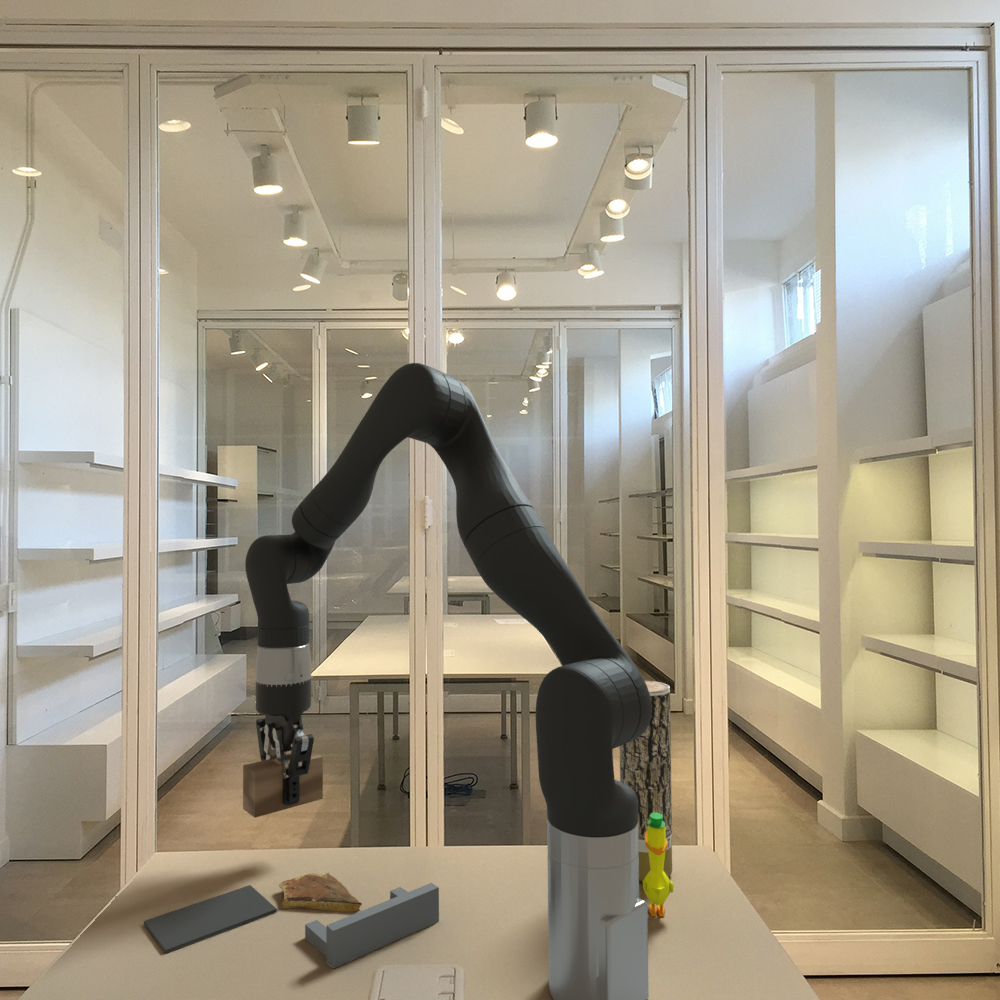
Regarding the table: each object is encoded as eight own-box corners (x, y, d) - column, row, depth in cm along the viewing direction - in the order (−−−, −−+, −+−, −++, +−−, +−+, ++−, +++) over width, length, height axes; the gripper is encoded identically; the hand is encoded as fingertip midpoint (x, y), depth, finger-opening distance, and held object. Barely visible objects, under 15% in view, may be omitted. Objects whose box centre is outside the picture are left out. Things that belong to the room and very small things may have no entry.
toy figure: (639, 896, 95) (638, 801, 95) (668, 897, 94) (666, 801, 95) (645, 926, 88) (644, 822, 88) (676, 927, 88) (674, 823, 88)
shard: (362, 916, 92) (362, 901, 92) (301, 936, 87) (301, 921, 87) (328, 881, 100) (327, 867, 100) (271, 898, 96) (271, 884, 96)
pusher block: (322, 798, 107) (322, 756, 107) (254, 817, 100) (254, 772, 101) (309, 791, 110) (309, 749, 110) (243, 808, 103) (243, 765, 104)
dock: (439, 921, 89) (438, 887, 89) (333, 968, 80) (333, 930, 80) (403, 897, 95) (403, 865, 95) (301, 939, 86) (300, 903, 86)
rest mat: (276, 912, 92) (276, 908, 92) (165, 953, 83) (165, 949, 83) (250, 888, 98) (250, 884, 98) (143, 924, 89) (143, 921, 89)
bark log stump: (614, 878, 100) (611, 688, 100) (630, 857, 106) (628, 678, 106) (664, 889, 96) (662, 694, 97) (678, 867, 102) (675, 683, 103)
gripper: (332, 680, 103) (332, 807, 102) (286, 665, 113) (286, 779, 113) (280, 689, 98) (280, 822, 97) (237, 672, 108) (237, 791, 108)
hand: (283, 798), depth 105 cm, fingers closed on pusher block, 4 cm apart
